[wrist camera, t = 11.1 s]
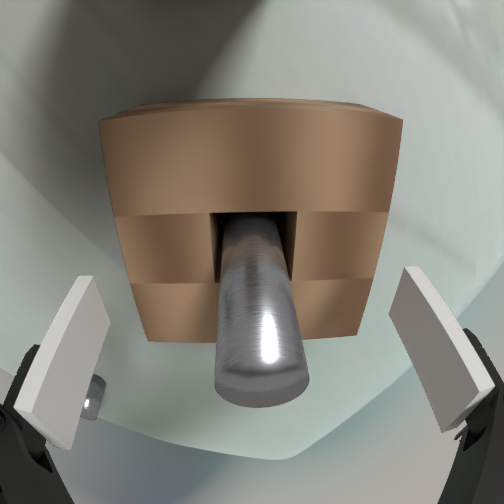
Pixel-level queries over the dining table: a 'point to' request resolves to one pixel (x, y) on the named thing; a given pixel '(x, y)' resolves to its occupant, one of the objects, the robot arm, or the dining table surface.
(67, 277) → the dining table surface
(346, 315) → the socket block
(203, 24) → the dining table surface
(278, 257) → the long pin
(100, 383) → the short pin
